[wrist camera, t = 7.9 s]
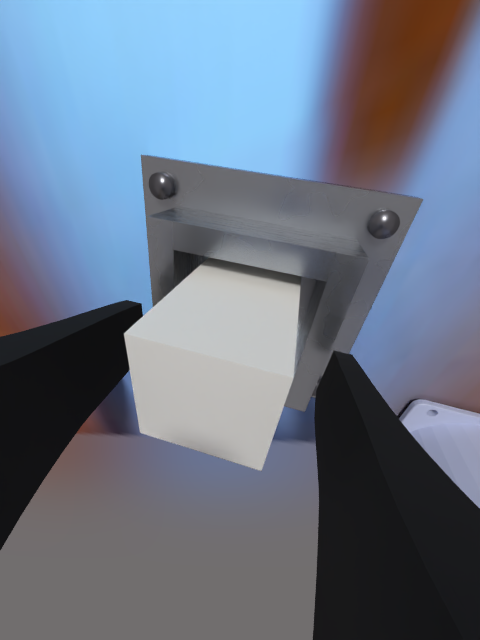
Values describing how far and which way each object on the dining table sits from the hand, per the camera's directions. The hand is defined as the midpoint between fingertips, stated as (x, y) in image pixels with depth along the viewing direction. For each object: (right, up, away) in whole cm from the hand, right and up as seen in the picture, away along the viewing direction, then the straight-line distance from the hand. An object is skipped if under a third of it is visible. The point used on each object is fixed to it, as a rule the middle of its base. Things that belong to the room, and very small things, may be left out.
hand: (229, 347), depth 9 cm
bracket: (+1, +2, +4) cm, 5 cm away
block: (+1, +2, +3) cm, 4 cm away
